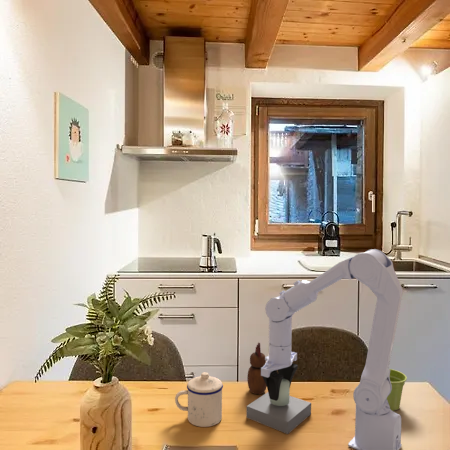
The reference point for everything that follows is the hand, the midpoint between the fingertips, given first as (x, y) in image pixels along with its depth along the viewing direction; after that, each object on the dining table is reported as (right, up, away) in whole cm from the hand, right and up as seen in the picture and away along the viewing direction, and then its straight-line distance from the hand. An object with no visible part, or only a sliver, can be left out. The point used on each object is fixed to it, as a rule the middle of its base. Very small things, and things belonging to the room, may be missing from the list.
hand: (279, 395), depth 106 cm
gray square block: (0, -5, 0) cm, 5 cm away
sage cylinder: (0, -2, 0) cm, 2 cm away
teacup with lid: (-20, -6, -1) cm, 21 cm away
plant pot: (+30, -6, +6) cm, 31 cm away
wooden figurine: (-4, -5, +14) cm, 15 cm away
